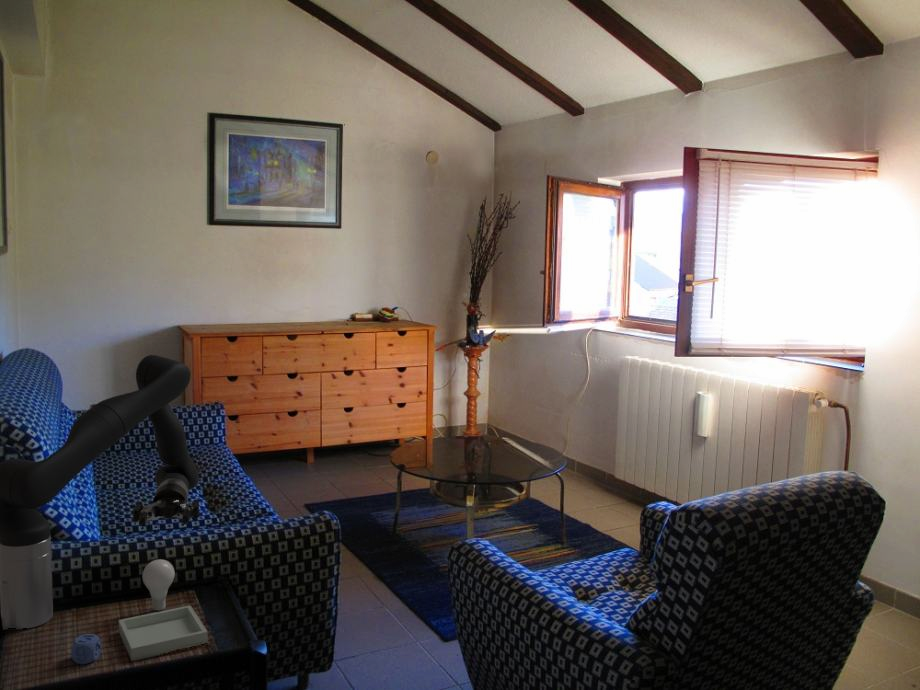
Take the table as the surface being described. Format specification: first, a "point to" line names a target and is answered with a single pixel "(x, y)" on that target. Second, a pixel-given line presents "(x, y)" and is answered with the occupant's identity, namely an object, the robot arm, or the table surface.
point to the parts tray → (161, 632)
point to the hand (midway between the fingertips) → (164, 521)
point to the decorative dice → (86, 648)
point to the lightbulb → (158, 581)
